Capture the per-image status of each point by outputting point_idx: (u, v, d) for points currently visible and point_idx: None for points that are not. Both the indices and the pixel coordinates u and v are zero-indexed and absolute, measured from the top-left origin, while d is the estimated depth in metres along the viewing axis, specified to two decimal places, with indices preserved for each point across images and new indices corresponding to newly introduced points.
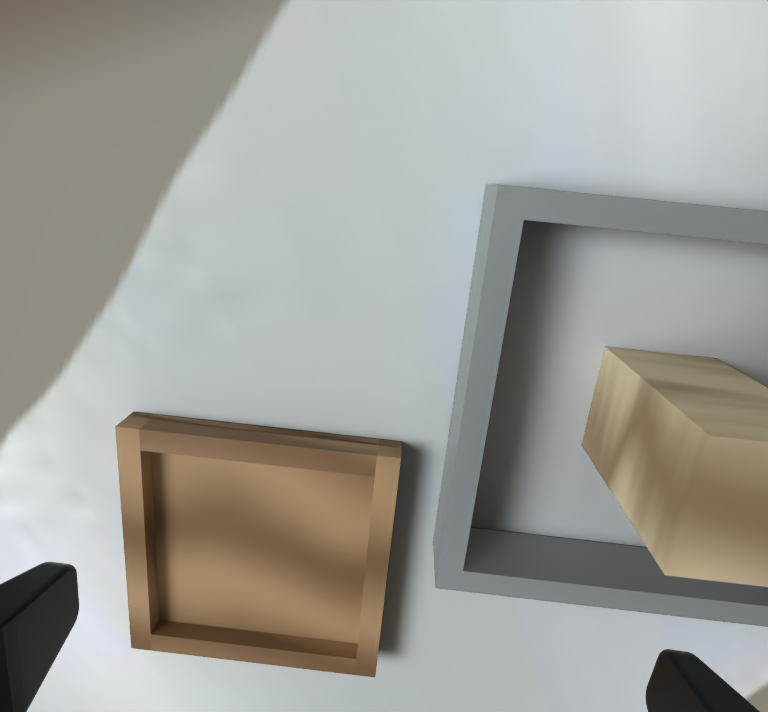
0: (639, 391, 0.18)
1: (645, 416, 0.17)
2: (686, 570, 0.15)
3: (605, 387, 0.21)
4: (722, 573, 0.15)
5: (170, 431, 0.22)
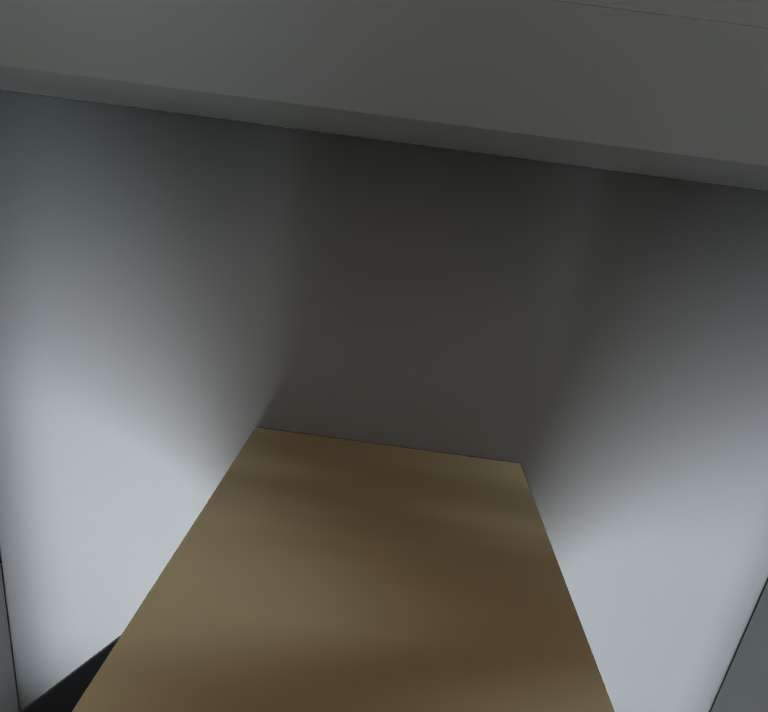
0: None
1: None
2: None
3: None
4: None
5: None
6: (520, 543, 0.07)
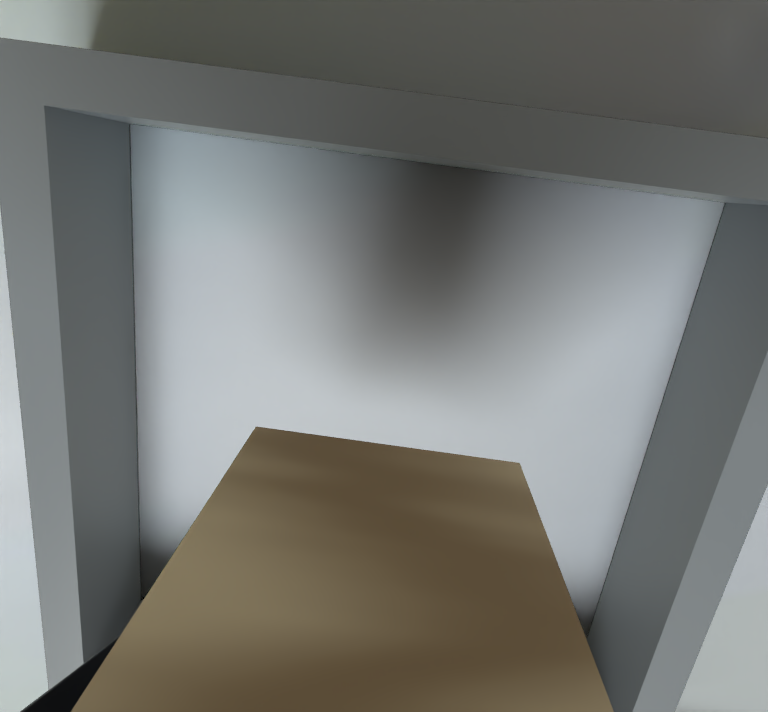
0: None
1: None
2: None
3: None
4: None
5: None
6: (519, 542, 0.07)
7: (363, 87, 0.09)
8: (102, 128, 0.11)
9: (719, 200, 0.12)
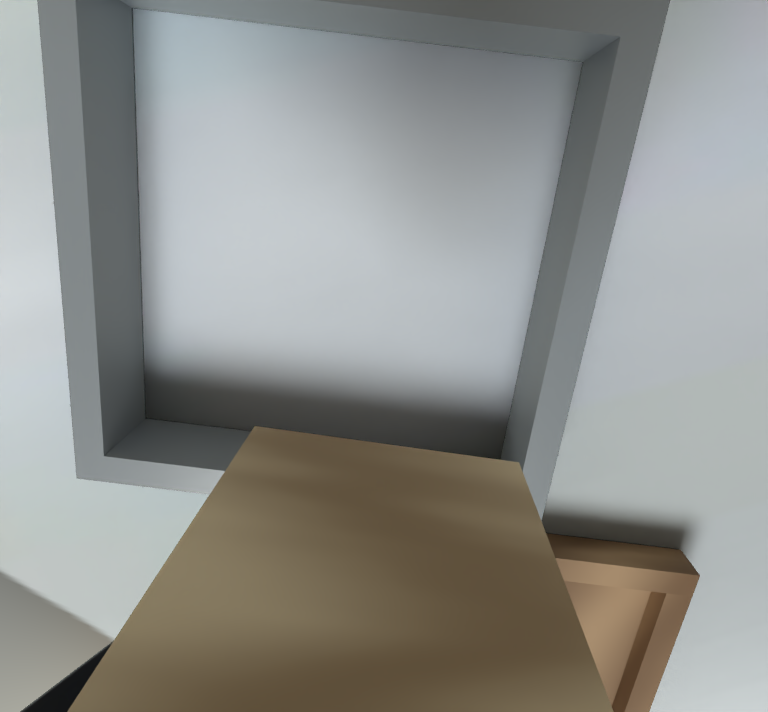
0: None
1: None
2: None
3: None
4: None
5: None
6: (519, 542, 0.07)
7: None
8: (112, 4, 0.15)
9: (572, 54, 0.16)
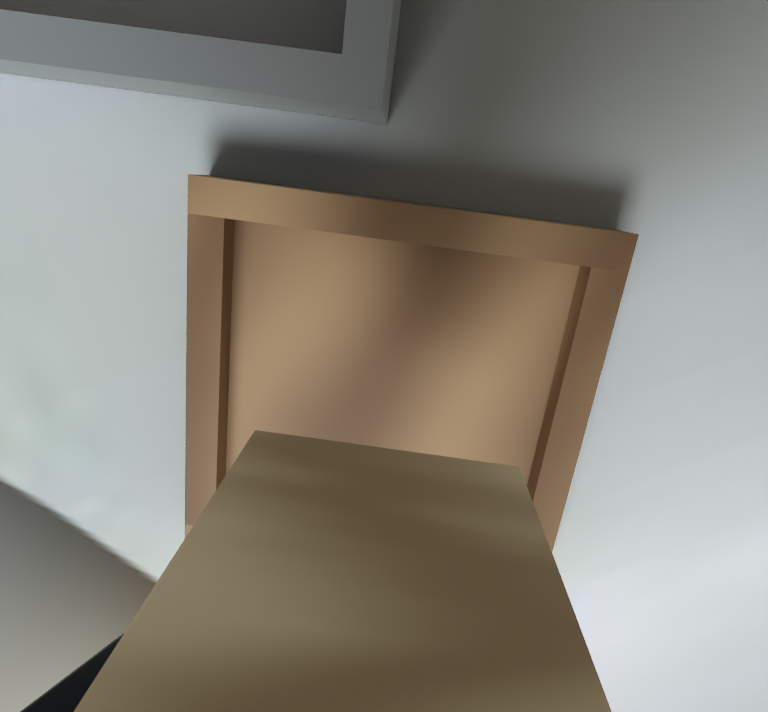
0: None
1: None
2: None
3: None
4: None
5: (186, 487, 0.17)
6: (519, 547, 0.07)
7: None
8: None
9: None
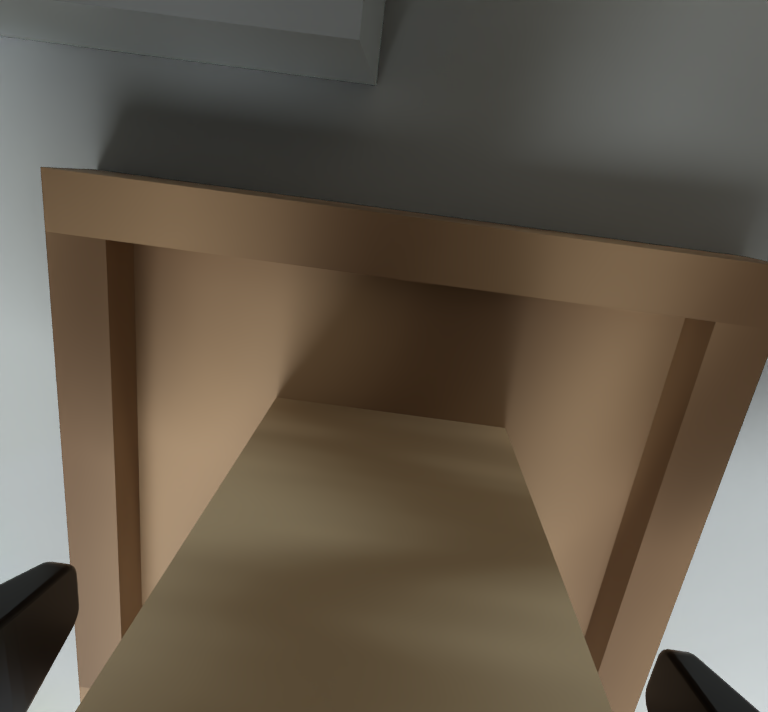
0: None
1: None
2: None
3: None
4: None
5: (79, 637, 0.11)
6: (501, 485, 0.08)
7: None
8: None
9: None
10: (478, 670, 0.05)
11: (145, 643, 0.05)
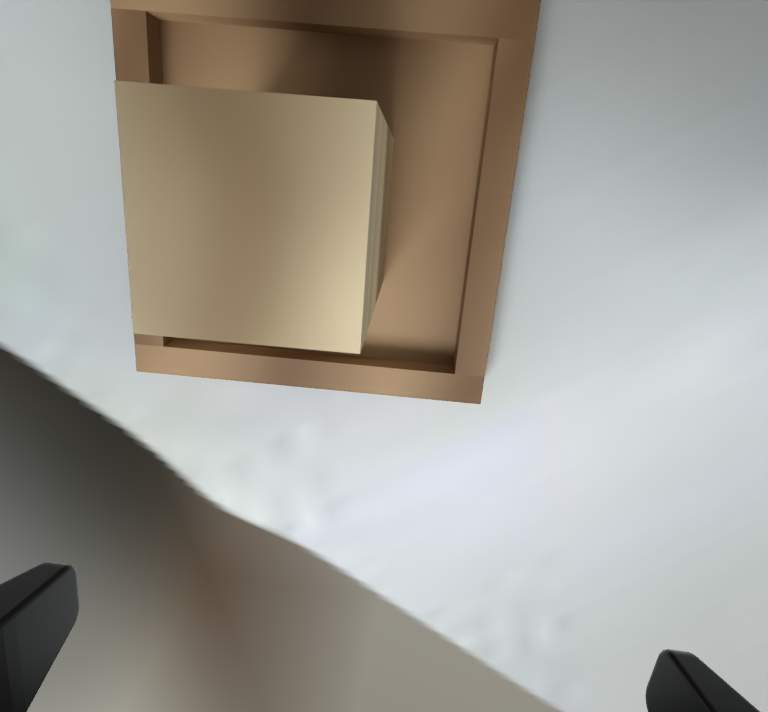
0: None
1: None
2: (348, 325, 0.10)
3: None
4: (350, 272, 0.10)
5: None
6: None
7: None
8: None
9: None
10: None
11: None
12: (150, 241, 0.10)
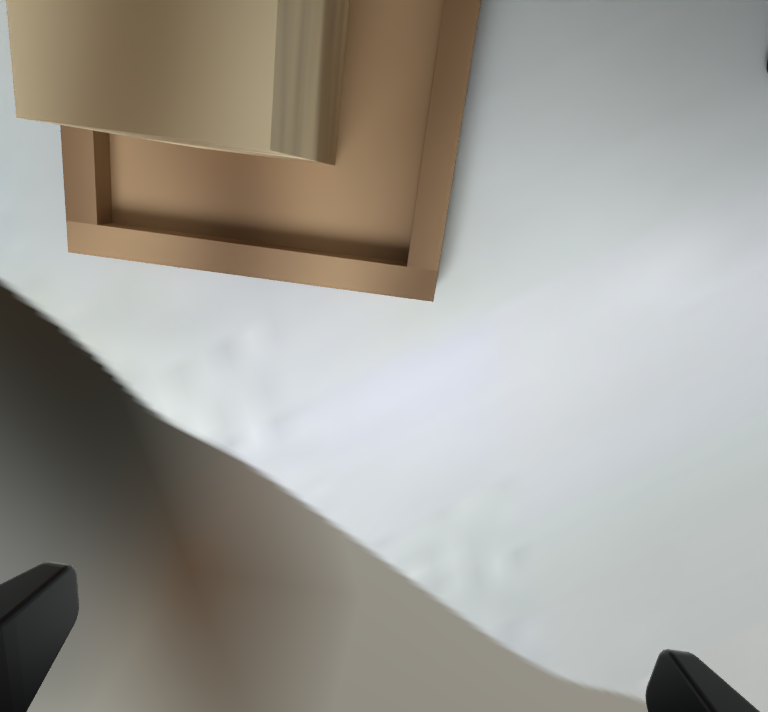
0: None
1: None
2: (257, 114, 0.09)
3: (228, 151, 0.16)
4: (258, 46, 0.09)
5: (66, 178, 0.17)
6: None
7: None
8: None
9: None
10: None
11: None
12: (33, 0, 0.09)
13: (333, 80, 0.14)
